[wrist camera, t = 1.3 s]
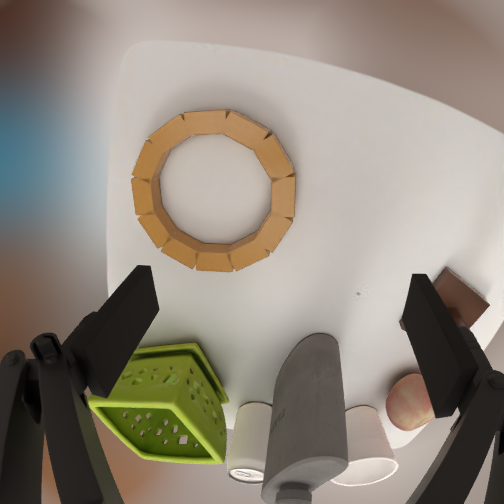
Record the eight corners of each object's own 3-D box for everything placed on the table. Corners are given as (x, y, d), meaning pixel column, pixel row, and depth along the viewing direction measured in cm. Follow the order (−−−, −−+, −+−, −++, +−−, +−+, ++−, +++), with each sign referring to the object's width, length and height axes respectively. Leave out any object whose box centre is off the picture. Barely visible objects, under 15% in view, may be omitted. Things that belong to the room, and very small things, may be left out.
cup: (400, 408, 43) (412, 464, 34) (357, 437, 48) (361, 490, 38) (359, 389, 42) (366, 452, 32) (315, 420, 46) (314, 478, 36)
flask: (301, 326, 38) (294, 478, 20) (344, 337, 38) (359, 484, 20) (265, 398, 45) (246, 519, 27) (301, 406, 45) (294, 526, 27)
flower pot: (121, 338, 44) (81, 400, 32) (204, 325, 40) (174, 402, 29) (164, 400, 49) (139, 461, 37) (242, 395, 45) (227, 467, 34)
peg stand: (446, 266, 32) (502, 348, 19) (485, 298, 33) (536, 375, 20) (398, 321, 36) (429, 414, 23) (441, 346, 37) (474, 429, 24)
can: (271, 427, 48) (263, 488, 38) (233, 417, 48) (220, 479, 37) (284, 406, 45) (278, 473, 35) (243, 396, 45) (230, 463, 35)
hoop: (180, 83, 28) (172, 82, 26) (326, 163, 30) (328, 167, 28) (122, 217, 35) (113, 224, 33) (245, 286, 37) (243, 297, 35)
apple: (390, 404, 43) (398, 445, 36) (374, 378, 41) (382, 423, 34) (436, 383, 40) (450, 423, 33) (425, 354, 38) (441, 397, 31)
